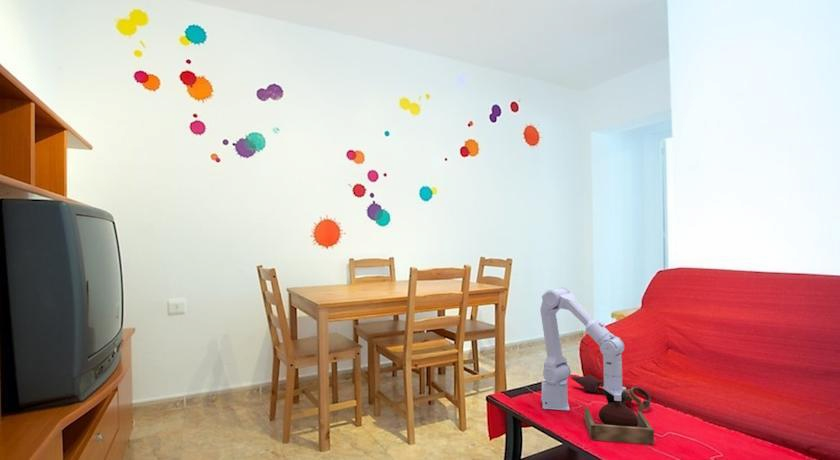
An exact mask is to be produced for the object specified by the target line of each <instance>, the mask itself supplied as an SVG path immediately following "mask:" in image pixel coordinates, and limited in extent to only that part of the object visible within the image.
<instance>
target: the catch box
mask: <svg viewBox="0 0 840 460" xmlns="http://www.w3.org/2000/svg"><path fill="white" fill-rule="evenodd" d="M583 412H584V422H585V425H586V428H587V431H588V433H589V437H590V439H591V440H595V441H605V442H616V443H617V442H618V443H629V444H638V445H639V444H640V443H641V444H642V445H651V444H652V445H653V446H654V445H655V429H654V428H653V426H652V425H651V424H650V422H649V421H648V419H647V418H646V416H645V415H644V414H643V411H642V412H641V411H638V410H636V416H637V419H638V425H637V427H630V426H617V425H604V424H603V423H602V424H601V423H595V421H594V418H593V417H592V413H591V411H590V409H589V407H584V411H583Z"/></svg>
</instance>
